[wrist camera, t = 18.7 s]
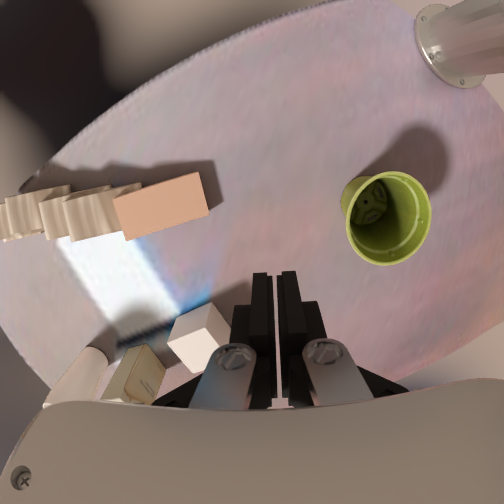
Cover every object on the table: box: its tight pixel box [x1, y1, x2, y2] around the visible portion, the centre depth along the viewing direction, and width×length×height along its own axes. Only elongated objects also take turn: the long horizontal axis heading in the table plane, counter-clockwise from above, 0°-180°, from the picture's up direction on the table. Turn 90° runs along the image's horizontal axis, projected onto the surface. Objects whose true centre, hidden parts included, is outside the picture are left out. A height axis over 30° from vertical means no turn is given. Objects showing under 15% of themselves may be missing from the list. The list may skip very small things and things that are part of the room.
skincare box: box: [100, 344, 166, 405], centre depth 39 cm, size 6×4×12 cm
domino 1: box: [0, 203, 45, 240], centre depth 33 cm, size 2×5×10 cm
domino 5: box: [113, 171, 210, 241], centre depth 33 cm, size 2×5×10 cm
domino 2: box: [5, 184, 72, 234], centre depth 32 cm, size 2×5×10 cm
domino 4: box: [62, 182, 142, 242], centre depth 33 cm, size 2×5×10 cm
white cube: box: [167, 302, 231, 373], centre depth 39 cm, size 6×6×6 cm
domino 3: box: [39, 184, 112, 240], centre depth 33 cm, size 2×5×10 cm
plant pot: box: [341, 171, 432, 266], centre depth 30 cm, size 9×9×9 cm
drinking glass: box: [43, 347, 108, 409], centre depth 38 cm, size 7×7×15 cm
